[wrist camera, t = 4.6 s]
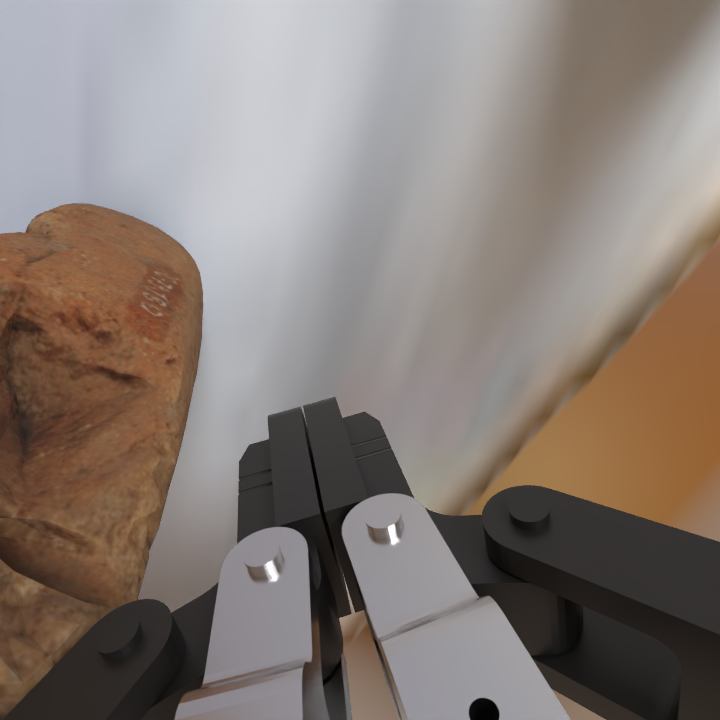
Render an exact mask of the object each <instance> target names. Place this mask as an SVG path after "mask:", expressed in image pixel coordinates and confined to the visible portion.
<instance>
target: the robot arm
mask: <svg viewBox="0 0 720 720" xmlns="http://www.w3.org/2000/svg"><path fill="white" fill-rule="evenodd" d="M303 408H304V413H305V418H306V422H305V418H304V415H303V412H302V409H301V407H298V408H294V409H291V410H287V411H283V412H280V413H276V414H273V415H269V416H268V428H269V439H268V440H265V441H261V442H257V443H254V444H250V445H249V446H248V448H247V450H246V451H245V453H244V455H243V456H242V458H241V460H240V461H239V480H240V481H239V495H238V537H237V544H236V545H235V546H234V547H233V548H232V550H231V551H230V552H229V553H228V555H227V556H226V558H225V559H224V562H223V564H222V567H221V571H220V577H219V582H218V583H217V584H216V585H215V586H214V587H212V588H211V589H210V590H209V591H207V592H206V593H204V594H203V595H201V596H200V597H198V598H196V599H194V600H193V601H191V602H189V603H188V604H186V605H184V606H182V607H181V608H179V609H177V610H176V611H174V612H172V613H171V612H170V610H169V609H168V607H167V606H166V605H165V604H164V603H162V602H160V601H157V600H153V599H143V600H137V601H133V602H130V603H127V604H125V605H122V606H120V607H118V608H116V609H114V610H113V611H111V612H110V613H108V614H107V615H105V616H104V617H103V618H101V619H100V620H99V621H98V622H97V623H96V624H94V625H93V626H92V627H91V628H90V629H89V630H88V631H87V632H86V633H85V635H84V636H83V637H82V638H81V639H80V640H79V641H78V642H77V643H76V644H75V645H74V646H73V647H72V648H71V649H70V650H69V651H68V652H67V653H66V654H65V655H64V656H63V657H62V658H61V659H60V660H59V661H58V663H57V664H56V665H55V666H54V667H53V668H52V669H51V670H50V671H49V672H48V673H47V674H46V675H45V676H44V677H43V678H42V679H41V680H40V681H39V682H38V683H37V684H36V685H35V686H34V687H33V688H32V689H31V690H30V692H29V693H28V694H27V695H26V696H25V697H24V698H23V699H22V700H21V701H20V702H19V703H18V704H17V705H16V706H15V707H14V708H13V709H12V710H11V711H10V712H9V713H8V714H7V715H6V716H5V717H4V718H3V720H352V714H351V704H350V694H349V684H348V675H347V665H346V659H345V655H344V652H343V637H342V632H341V626H340V621H339V618H340V617H344V616H347V615H350V614H352V613H351V609H350V604H349V600H348V595H347V590H346V586H345V581H346V584H347V587H348V591H349V594H350V597H351V600H352V604H353V607H354V610H355V612H358V611H362V610H364V611H365V615H366V618H367V622H368V625H369V628H370V631H371V635H372V639H373V641H374V645H375V649H376V652H377V655H378V658H379V661H380V664H381V667H382V670H383V673H384V676H385V679H386V682H387V685H388V688H389V691H390V694H391V697H392V700H393V703H394V706H395V709H396V712H397V715H398V718H399V720H570V718H569V716H568V715H567V713H566V712H565V710H564V709H563V707H562V705H561V704H560V702H559V700H558V699H557V697H556V696H555V694H554V693H553V691H552V689H553V690H555V691H557V692H558V693H560V694H562V695H564V696H566V697H567V698H569V699H571V700H573V701H574V702H576V703H578V704H580V705H581V706H583V707H585V708H587V709H589V710H590V711H592V712H594V713H596V714H597V715H599V716H601V717H603V718H605V719H606V720H720V542H718V541H715V540H712V539H708V538H705V537H702V536H699V535H695V534H692V533H689V532H686V531H683V530H679V529H677V528H673V527H670V526H667V525H664V524H661V523H657V522H654V521H651V520H648V519H645V518H642V517H638V516H635V515H632V514H629V513H626V512H622V511H619V510H616V509H613V508H610V507H606V506H603V505H600V504H597V503H593V502H590V501H587V500H584V499H581V498H577V497H574V496H571V495H568V494H565V493H562V492H559V491H555V490H552V489H549V488H545V487H541V486H531V485H525V486H516V487H511V488H508V489H505V490H503V491H501V492H499V493H497V494H496V495H494V496H493V497H492V498H491V499H490V500H489V501H488V502H487V503H486V505H485V507H484V509H483V512H482V515H469V516H450V515H443V514H439V513H435V512H433V511H430V510H428V509H426V508H425V507H424V506H423V505H422V504H421V503H420V502H419V501H418V500H416V499H415V498H414V496H413V495H412V493H411V490H410V488H409V486H408V484H407V481H406V479H405V477H404V475H403V473H402V470H401V468H400V466H399V464H398V461H397V459H396V457H395V455H394V453H393V450H392V449H391V446H390V444H389V441H388V439H387V438H386V435H385V433H384V430H383V428H382V426H381V424H380V421H378V420H377V419H375V418H374V417H372V416H370V415H369V414H367V413H366V412H362V413H359V414H355V415H352V416H348V417H345V418H342V416H341V413H340V410H339V407H338V404H337V401H336V398H335V397H333V398H329V399H326V400H322V401H319V402H315V403H312V404H308V405H304V406H303ZM306 423H307V425H306ZM342 571H343V572H342ZM343 574H344V576H343ZM344 577H345V581H344Z"/></svg>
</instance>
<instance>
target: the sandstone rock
mask: <svg viewBox="0 0 720 720" xmlns="http://www.w3.org/2000/svg"><path fill="white" fill-rule="evenodd" d="M202 314H203V290H202V283H201V277H200V272H199V270H198V267H197V265H196V263H195V261H194V260H193V258H192V257H191V255H190V254H189V253H188V252H187V251H186V250H185V248H184V247H183V246H182V245H181V244H180V243H178V242H177V241H176V240H174V239H173V238H172V237H170V236H169V235H167V234H166V233H165V232H163V231H161V230H160V229H158V228H157V227H155V226H153V225H150V224H148V223H146V222H143V221H141V220H139V219H137V218H135V217H132V216H129V215H126V214H123V213H120V212H118V211H115V210H112V209H108V208H104V207H100V206H96V205H92V204H77V203H73V204H67V205H61V206H59V207H56V208H54V209H51V210H49V211H46V212H43V213H41V214H39V215H37V216H36V217H35V218H34V219H33V220H32V221H31V222H30V224H29V225H28V227H27V230H26V232H25V233H22V232H17V233H4V234H0V720H3V718H4V717H5V716H6V715H7V714H8V713H9V712H10V711H11V710H12V709H13V708H14V707H15V706H16V705H17V704H18V703H19V702H20V701H21V700H22V699H23V698H24V697H25V696H26V695H27V694H28V693H29V692H30V690H31V689H32V688H33V687H34V686H35V685H36V684H37V683H38V682H39V681H40V680H41V679H42V678H43V677H44V676H45V675H46V674H47V673H48V672H49V671H50V670H51V669H52V668H53V667H54V666H55V665H56V664H57V663H58V661H59V660H60V659H61V658H62V657H63V656H64V655H65V654H66V653H67V652H68V651H69V650H70V649H71V648H72V647H73V646H74V645H75V644H76V643H77V642H78V641H79V640H80V639H81V638H82V637H83V636H84V635H85V633H86V632H87V631H88V630H89V629H90V628H91V627H92V626H93V625H94V624H96V623H97V622H98V621H99V620H100V619H101V618H103V617H104V616H105V615H107V614H108V613H110V612H111V611H113V610H114V609H116V608H118V607H120V606H122V605H125V604H127V603H130V602H133V601H137V600H138V596H139V592H140V588H141V584H142V581H143V577H144V574H145V570H146V566H147V562H148V559H149V550H150V547H151V545H152V543H153V540H154V538H155V536H156V533H157V531H158V529H159V525H160V521H161V517H162V513H163V509H164V505H165V501H166V498H167V494H168V490H169V486H170V483H171V480H172V476H173V473H174V469H175V466H176V463H177V459H178V456H179V451H180V447H181V443H182V439H183V435H184V431H185V426H186V421H187V416H188V412H189V406H190V401H191V396H192V391H193V386H194V382H195V378H196V374H197V368H198V360H199V353H200V346H201V339H202Z"/></svg>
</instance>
